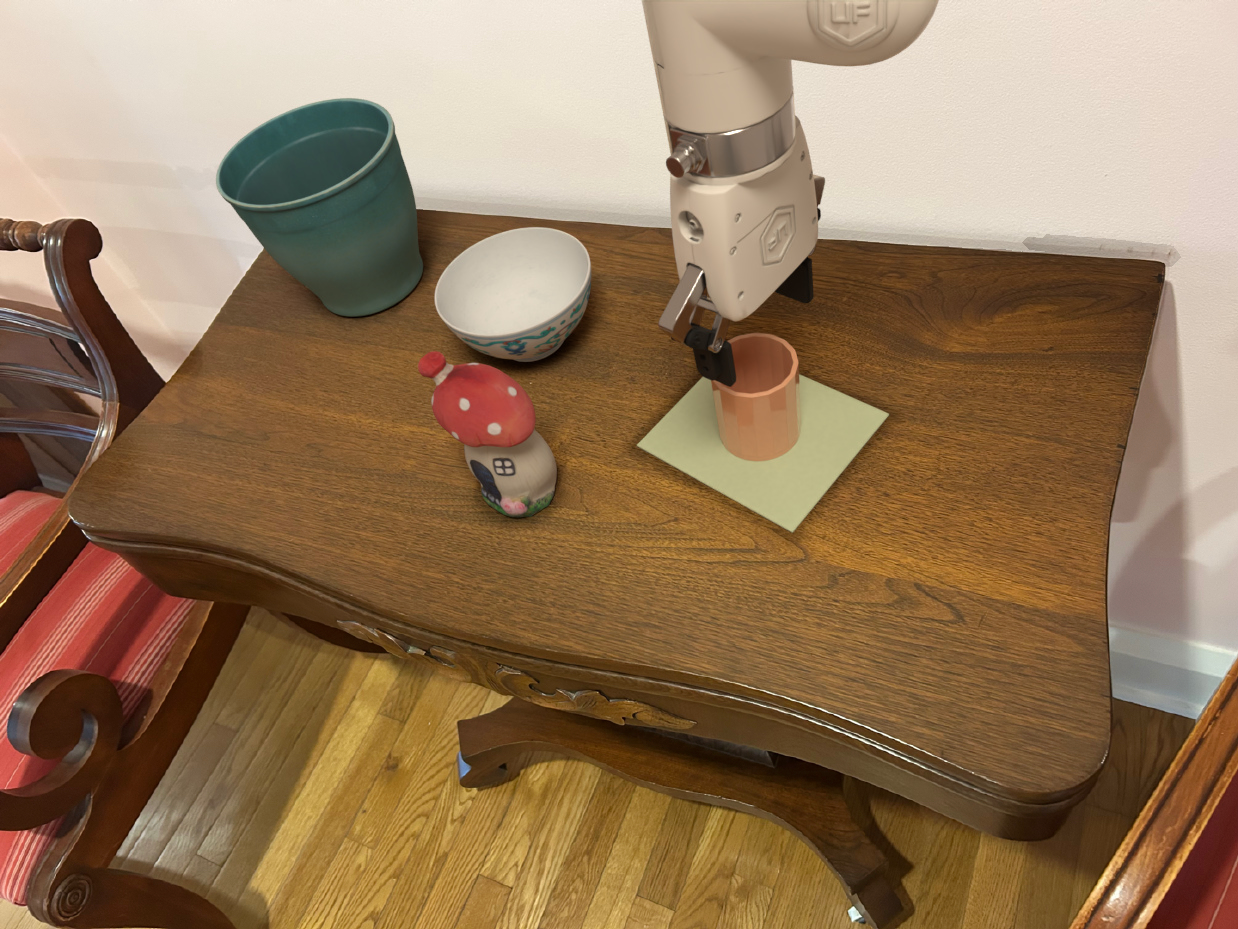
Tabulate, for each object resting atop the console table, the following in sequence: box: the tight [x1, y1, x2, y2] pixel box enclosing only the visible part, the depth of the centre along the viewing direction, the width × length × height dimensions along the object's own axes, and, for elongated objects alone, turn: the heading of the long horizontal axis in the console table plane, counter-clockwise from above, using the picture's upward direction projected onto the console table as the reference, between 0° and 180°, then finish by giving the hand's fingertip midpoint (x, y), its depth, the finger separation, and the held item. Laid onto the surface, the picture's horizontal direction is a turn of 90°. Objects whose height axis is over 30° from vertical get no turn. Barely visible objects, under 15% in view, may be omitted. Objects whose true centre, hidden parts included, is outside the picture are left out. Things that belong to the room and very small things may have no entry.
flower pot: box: [215, 97, 424, 318], centre depth 89 cm, size 18×18×17 cm
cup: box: [711, 332, 801, 461], centre depth 69 cm, size 7×7×8 cm
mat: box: [636, 373, 890, 534], centre depth 72 cm, size 16×14×1 cm
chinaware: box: [434, 226, 592, 363], centre depth 82 cm, size 15×15×8 cm
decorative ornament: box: [417, 350, 558, 518], centre depth 68 cm, size 9×7×15 cm
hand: (756, 335), depth 63 cm, fingers open, 9 cm apart
